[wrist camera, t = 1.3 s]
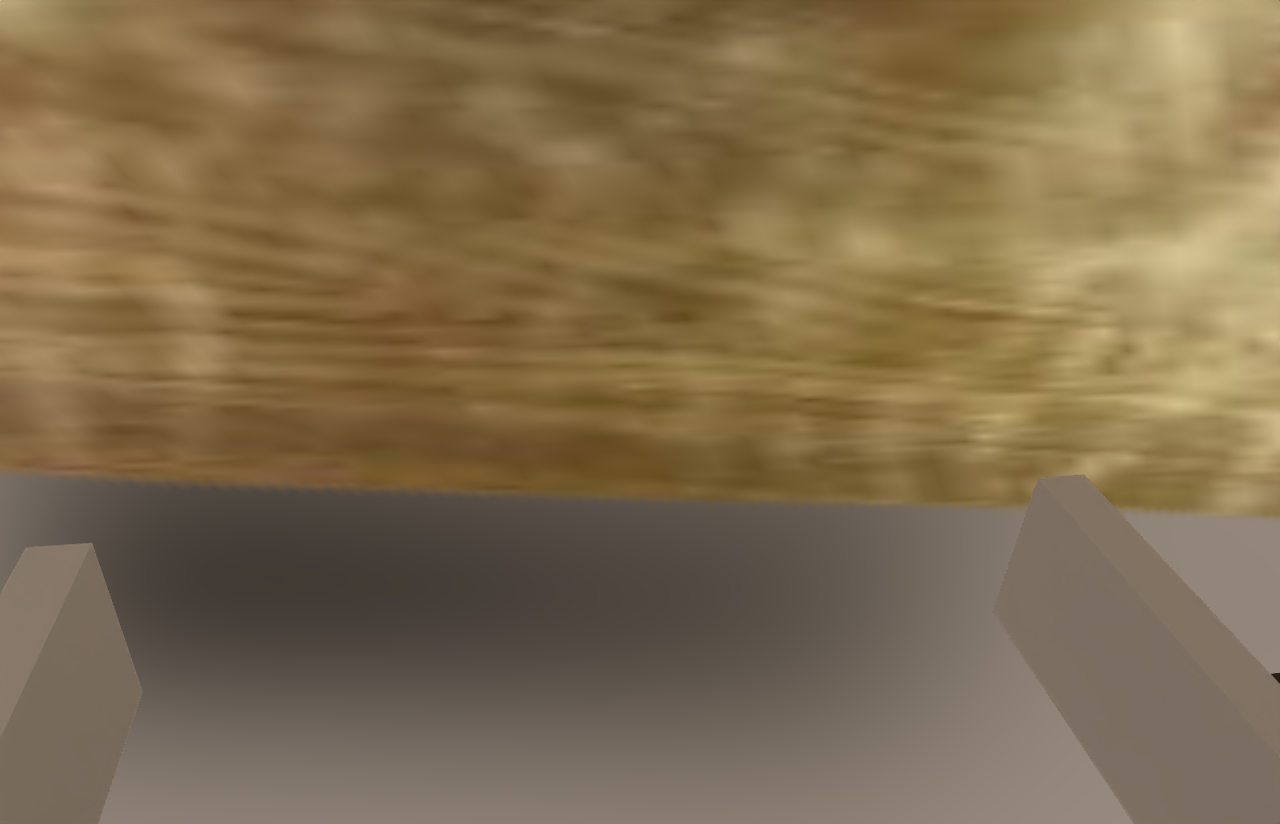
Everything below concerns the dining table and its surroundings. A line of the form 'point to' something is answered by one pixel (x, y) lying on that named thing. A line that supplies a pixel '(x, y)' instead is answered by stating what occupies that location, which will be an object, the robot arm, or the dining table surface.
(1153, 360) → the dining table surface
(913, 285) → the dining table surface
